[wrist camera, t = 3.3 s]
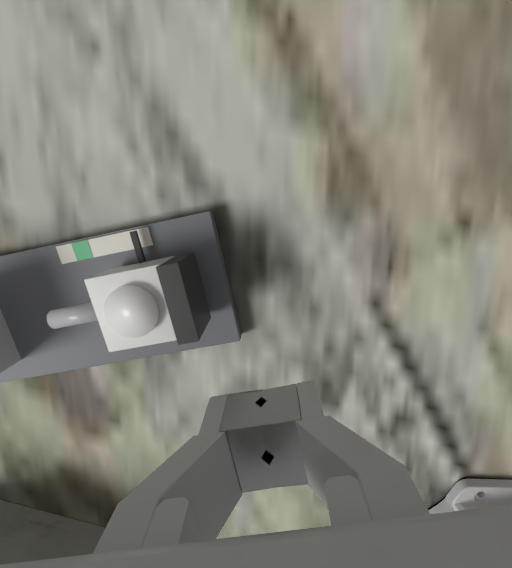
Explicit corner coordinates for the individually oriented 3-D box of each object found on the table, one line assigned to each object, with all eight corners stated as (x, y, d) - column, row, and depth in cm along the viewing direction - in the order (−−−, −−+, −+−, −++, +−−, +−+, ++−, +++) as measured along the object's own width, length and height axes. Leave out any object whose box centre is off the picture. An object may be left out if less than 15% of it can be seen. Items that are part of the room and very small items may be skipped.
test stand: (212, 210, 28) (184, 214, 19) (241, 334, 31) (229, 390, 22) (-40, 264, 30) (-174, 291, 21) (9, 375, 33) (-91, 441, 24)
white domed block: (186, 219, 26) (167, 223, 21) (211, 317, 28) (198, 341, 23) (46, 249, 27) (-3, 260, 22) (80, 341, 29) (42, 369, 24)
